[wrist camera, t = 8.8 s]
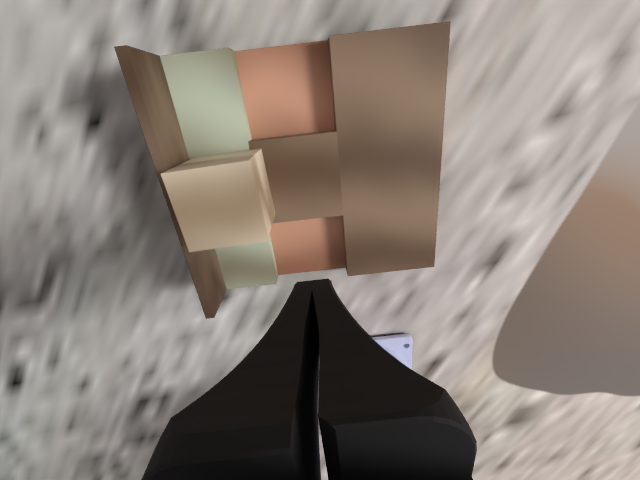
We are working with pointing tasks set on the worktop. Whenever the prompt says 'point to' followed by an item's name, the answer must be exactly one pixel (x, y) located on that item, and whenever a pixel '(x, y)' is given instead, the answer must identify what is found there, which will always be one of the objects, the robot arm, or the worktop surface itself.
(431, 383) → the robot arm
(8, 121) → the worktop surface
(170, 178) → the birch block
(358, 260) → the box
